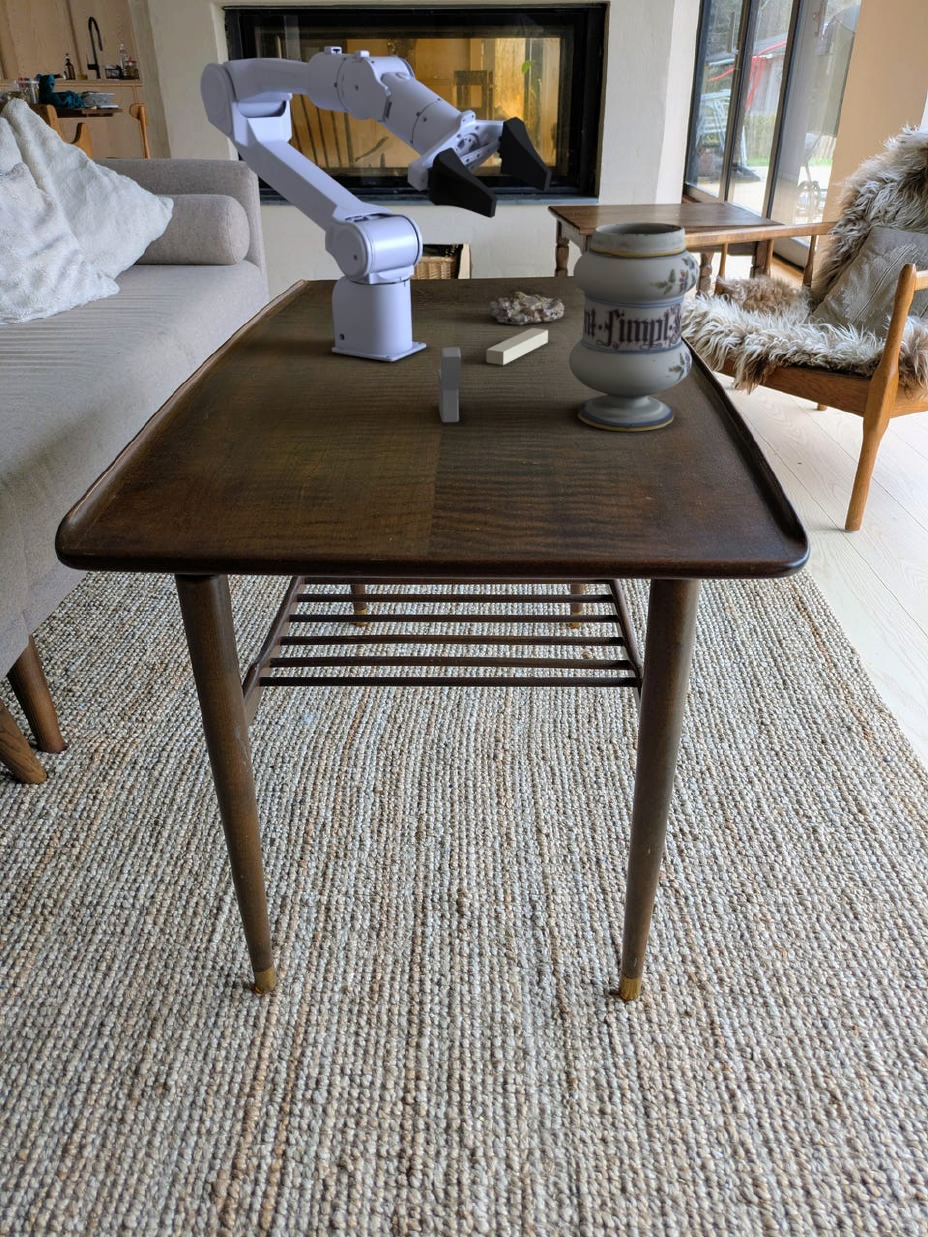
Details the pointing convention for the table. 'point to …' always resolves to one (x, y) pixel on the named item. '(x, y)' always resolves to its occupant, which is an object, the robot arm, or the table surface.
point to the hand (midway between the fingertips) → (521, 194)
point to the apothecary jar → (632, 323)
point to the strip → (516, 346)
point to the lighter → (449, 384)
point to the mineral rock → (526, 309)
